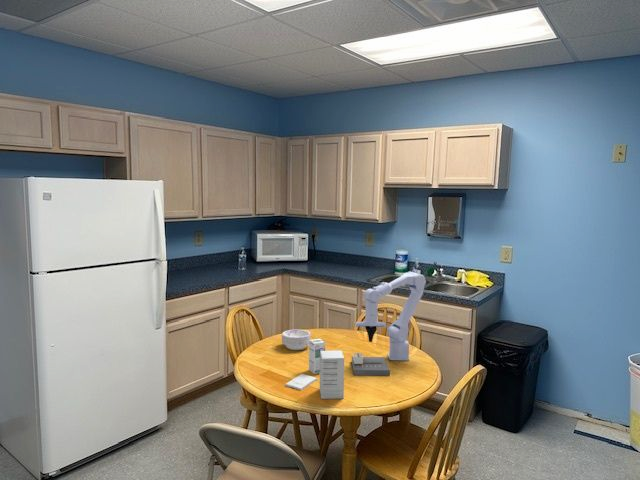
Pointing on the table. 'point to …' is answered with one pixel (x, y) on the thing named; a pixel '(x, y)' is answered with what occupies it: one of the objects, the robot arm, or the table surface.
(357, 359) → the fader knob
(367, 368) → the slide fader panel
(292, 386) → the external hard drive
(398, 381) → the table surface
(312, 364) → the syrup box
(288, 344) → the paper bowls
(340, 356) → the supplement box
